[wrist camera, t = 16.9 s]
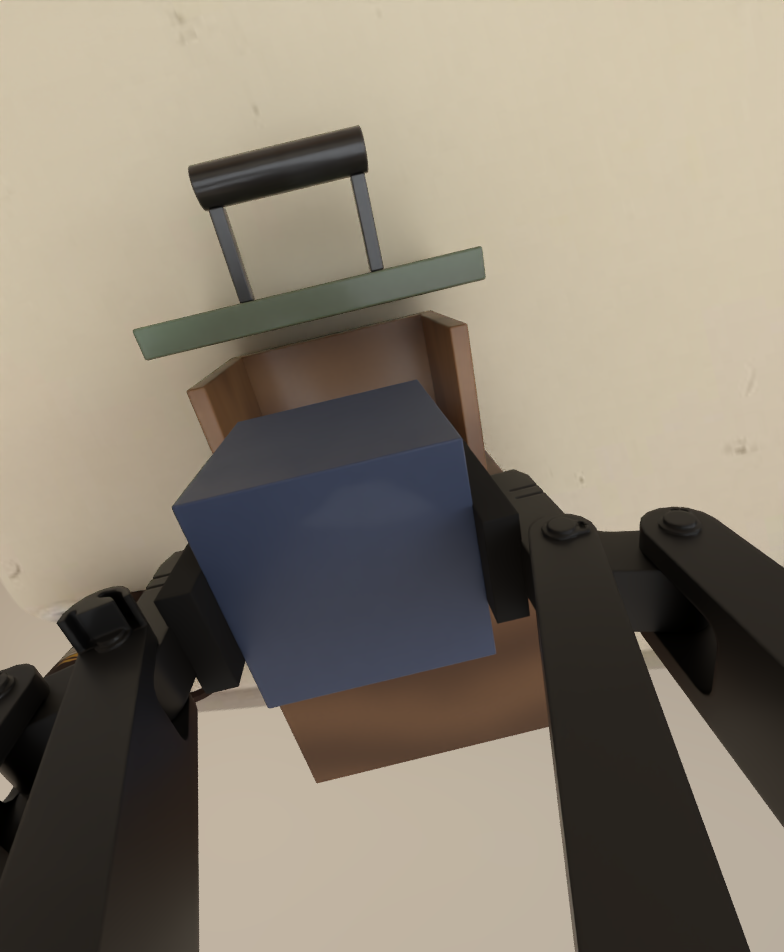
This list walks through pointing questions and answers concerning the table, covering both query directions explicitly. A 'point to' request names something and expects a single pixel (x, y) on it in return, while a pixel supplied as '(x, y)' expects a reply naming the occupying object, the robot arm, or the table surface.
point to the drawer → (321, 306)
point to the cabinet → (427, 706)
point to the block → (342, 543)
